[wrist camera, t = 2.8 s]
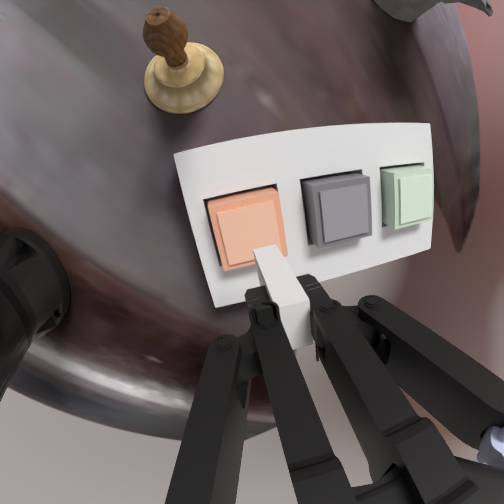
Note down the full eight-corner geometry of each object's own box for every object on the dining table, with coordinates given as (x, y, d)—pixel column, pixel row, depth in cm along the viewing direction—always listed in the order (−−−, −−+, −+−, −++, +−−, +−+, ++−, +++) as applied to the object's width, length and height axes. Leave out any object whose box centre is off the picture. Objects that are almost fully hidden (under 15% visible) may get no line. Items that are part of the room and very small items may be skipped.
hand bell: (236, 93, 25) (269, 41, 10) (162, 127, 25) (109, 113, 10) (205, 32, 21) (207, -57, 7) (133, 65, 21) (68, 5, 7)
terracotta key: (222, 257, 27) (224, 272, 24) (208, 200, 25) (208, 208, 22) (280, 244, 28) (289, 257, 25) (270, 186, 25) (279, 193, 22)
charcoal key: (307, 237, 28) (319, 249, 25) (300, 180, 26) (312, 186, 23) (358, 226, 28) (373, 236, 25) (354, 172, 26) (371, 177, 23)
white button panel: (213, 286, 33) (215, 307, 28) (179, 152, 26) (173, 154, 22) (410, 236, 34) (430, 248, 30) (406, 122, 28) (429, 123, 24)
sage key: (380, 221, 29) (396, 230, 26) (377, 169, 26) (395, 173, 23) (417, 212, 29) (434, 220, 26) (416, 164, 27) (435, 168, 24)
